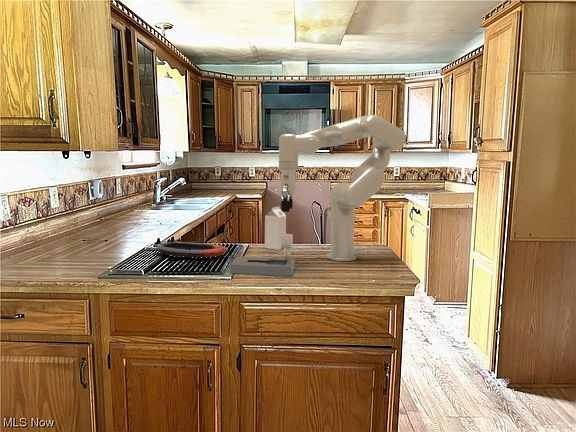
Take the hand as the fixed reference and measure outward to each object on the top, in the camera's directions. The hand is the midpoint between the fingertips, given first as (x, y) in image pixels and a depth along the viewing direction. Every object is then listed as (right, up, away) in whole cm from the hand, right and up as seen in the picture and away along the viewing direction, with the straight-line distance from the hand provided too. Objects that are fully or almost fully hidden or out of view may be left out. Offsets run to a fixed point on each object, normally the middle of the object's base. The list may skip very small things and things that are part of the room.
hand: (286, 210), depth 170 cm
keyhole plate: (-9, -22, -11) cm, 26 cm away
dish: (-40, -19, +10) cm, 45 cm away
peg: (0, -21, +3) cm, 21 cm away
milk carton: (-5, -17, +28) cm, 33 cm away
